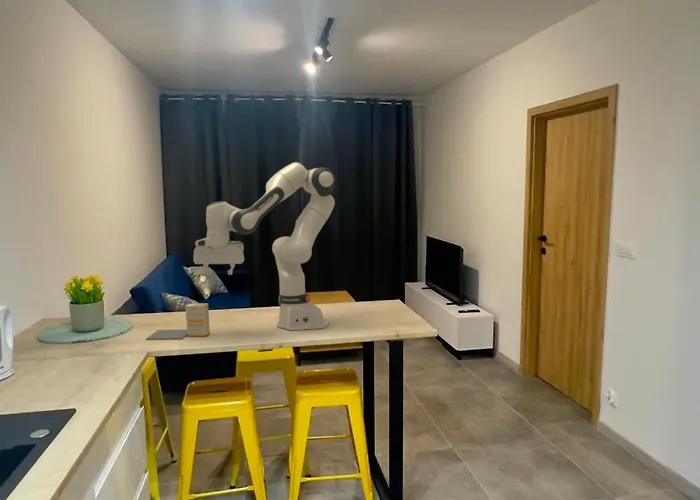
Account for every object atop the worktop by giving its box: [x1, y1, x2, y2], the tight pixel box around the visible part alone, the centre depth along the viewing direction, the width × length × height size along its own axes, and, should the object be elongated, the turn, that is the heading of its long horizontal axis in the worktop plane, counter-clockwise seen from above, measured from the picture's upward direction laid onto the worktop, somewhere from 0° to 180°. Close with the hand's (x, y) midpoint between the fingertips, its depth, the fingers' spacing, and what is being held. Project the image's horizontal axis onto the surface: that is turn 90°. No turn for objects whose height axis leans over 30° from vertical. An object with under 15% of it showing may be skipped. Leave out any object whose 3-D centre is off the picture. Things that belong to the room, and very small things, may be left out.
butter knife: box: [55, 349, 86, 360], centre depth 197 cm, size 1×24×3 cm
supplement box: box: [185, 302, 211, 337], centre depth 215 cm, size 8×5×13 cm, turn 84°
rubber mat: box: [145, 329, 188, 341], centre depth 216 cm, size 15×13×1 cm
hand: (219, 274), depth 212 cm, fingers open, 7 cm apart
